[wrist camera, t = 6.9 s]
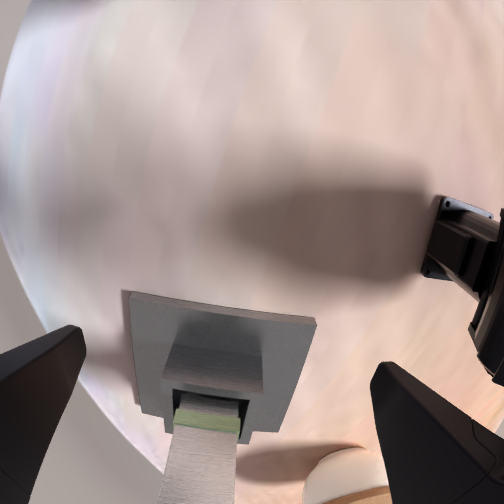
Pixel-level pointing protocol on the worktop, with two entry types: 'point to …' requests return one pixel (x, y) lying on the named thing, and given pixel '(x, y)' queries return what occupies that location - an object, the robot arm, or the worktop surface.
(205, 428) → the grey tall block
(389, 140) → the worktop surface
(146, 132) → the worktop surface
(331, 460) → the lidded bowl
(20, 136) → the worktop surface
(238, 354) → the stand base
